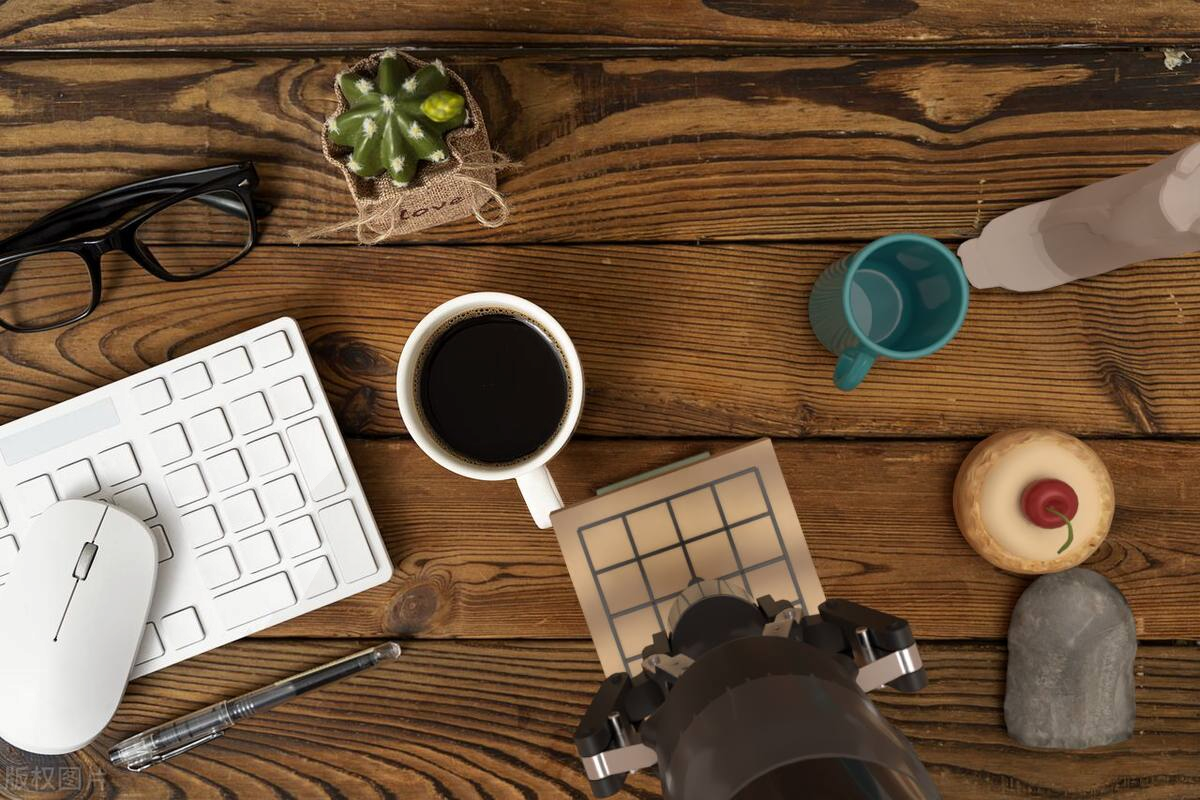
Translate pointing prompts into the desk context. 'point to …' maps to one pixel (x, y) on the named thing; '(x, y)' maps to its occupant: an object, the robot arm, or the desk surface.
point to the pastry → (1033, 500)
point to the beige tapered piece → (1092, 229)
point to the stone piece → (712, 618)
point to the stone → (1071, 663)
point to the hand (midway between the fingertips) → (717, 633)
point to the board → (682, 545)
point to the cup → (888, 304)
